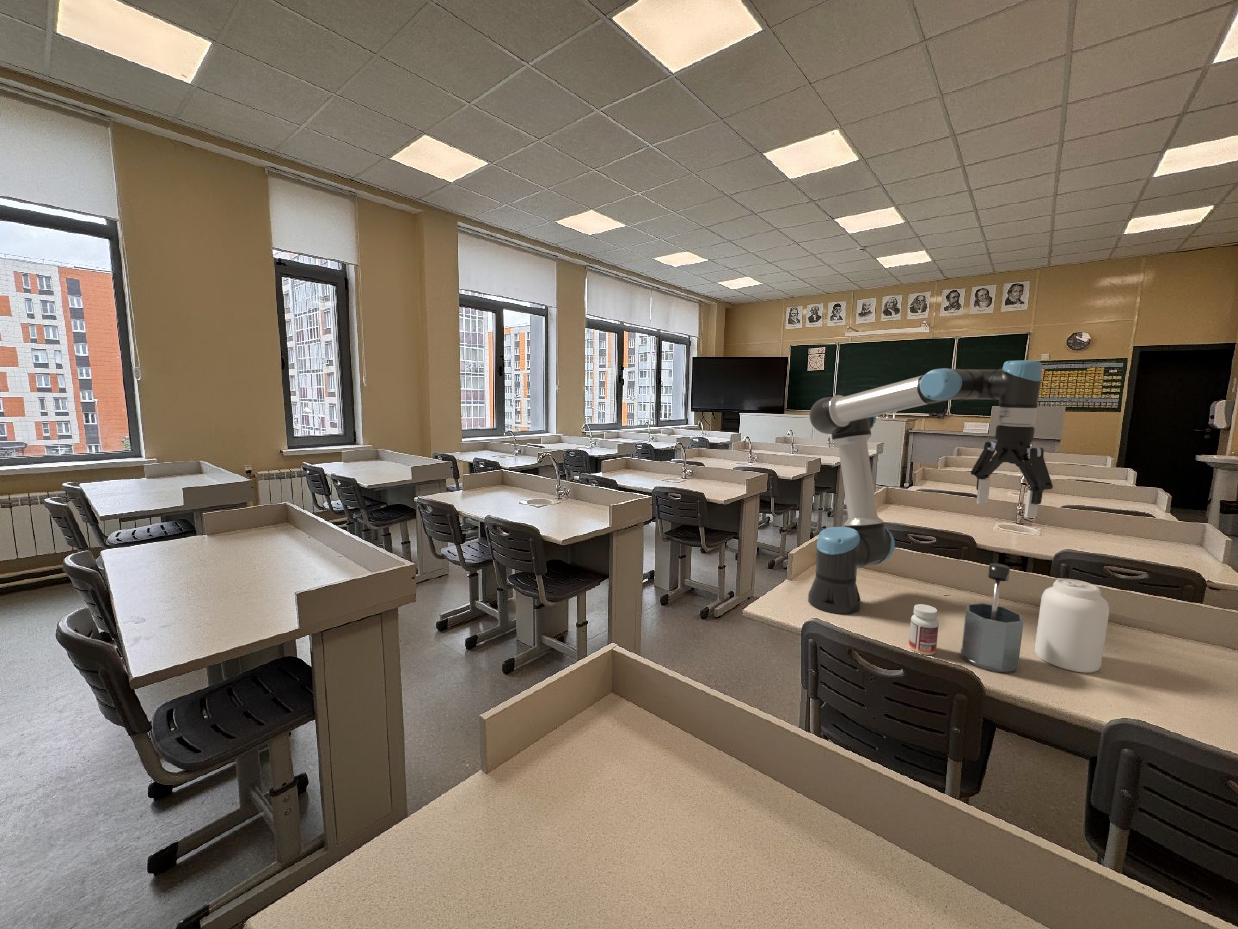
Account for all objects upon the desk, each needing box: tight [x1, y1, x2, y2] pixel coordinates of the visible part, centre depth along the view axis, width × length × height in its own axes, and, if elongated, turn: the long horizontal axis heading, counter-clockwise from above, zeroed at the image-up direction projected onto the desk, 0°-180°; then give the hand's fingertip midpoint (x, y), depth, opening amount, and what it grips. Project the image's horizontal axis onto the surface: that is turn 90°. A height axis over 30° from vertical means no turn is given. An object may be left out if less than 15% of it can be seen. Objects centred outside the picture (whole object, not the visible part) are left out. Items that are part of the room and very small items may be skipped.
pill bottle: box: [908, 603, 939, 656], centre depth 134 cm, size 6×6×11 cm
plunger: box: [987, 562, 1011, 621], centre depth 127 cm, size 8×8×23 cm
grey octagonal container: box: [960, 602, 1025, 674], centre depth 129 cm, size 12×14×12 cm
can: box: [1034, 578, 1110, 673], centre depth 128 cm, size 12×12×20 cm
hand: (1004, 510), depth 130 cm, fingers open, 13 cm apart
